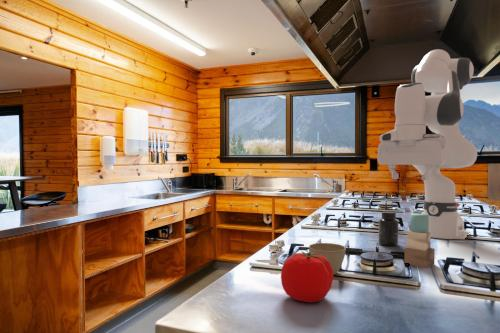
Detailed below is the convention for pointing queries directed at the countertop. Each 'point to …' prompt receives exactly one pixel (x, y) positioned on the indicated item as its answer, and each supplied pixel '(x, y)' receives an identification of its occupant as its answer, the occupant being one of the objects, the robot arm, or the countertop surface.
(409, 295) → the countertop surface
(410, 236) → the tower top
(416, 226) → the green cube
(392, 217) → the supplement bottle
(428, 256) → the tower base
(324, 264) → the tomato
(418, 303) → the countertop surface
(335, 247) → the flower pot
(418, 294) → the countertop surface
